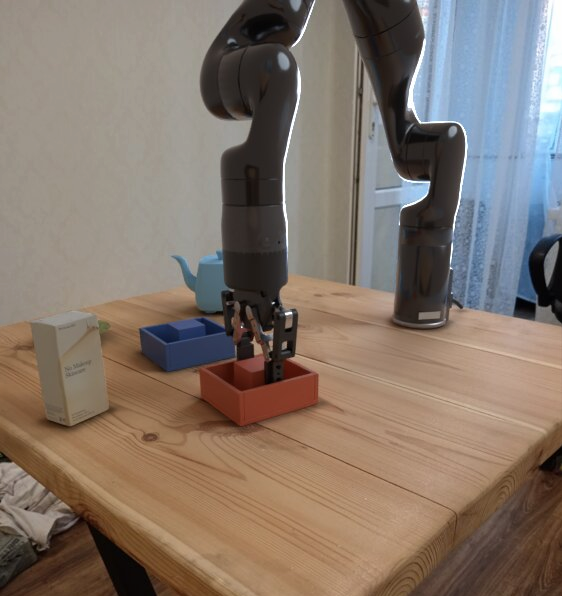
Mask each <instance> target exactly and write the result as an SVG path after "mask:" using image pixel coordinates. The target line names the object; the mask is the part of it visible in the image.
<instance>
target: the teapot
mask: <svg viewBox="0 0 562 596" xmlns="http://www.w3.org/2000/svg"><path fill="white" fill-rule="evenodd" d="M215 253H216V254H207V255H205V256H203V257H201V258H200V260H199V262H198V266H197V271H196V276H195V275H194V274H193V273H192V272H191V269H190V266H189V264H188V261H187V259H186V258H185V257H184V256H181V255H176V254H169V256H170V257H171V258H173V259H174V260H175V261H176V262H177V263H178V264H179V267H180V269H181V273H182V277H183V281H184V283H185V286H186V287H187V288H188V289H189V290H190V291H191V292H193V293H194V298H195V303H196V305H197V308H198V309H199V311H202V312H204V313H205V314H214V313H216V312H223V307H222V299H221V292H222V291H224V290H229V289H231V288H228V287H227V286H226V285H225V283H224V273H223V254H222V249H217V250H216V251H215Z"/></svg>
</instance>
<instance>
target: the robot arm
mask: <svg viewBox="0 0 562 596" xmlns="http://www.w3.org/2000/svg"><path fill="white" fill-rule="evenodd" d="M340 1H341V3H342V4H341V5H342V7H343V9H344V10H343V11H344V12H345V15H346V18H347V22H348V26H349V29H350V31H351V34H352V37H353V39H354V42H355V45H356V48H357V51H358V53H359V57H360V59H361V61H362V63H363V66H364V70H365V71H366V74H367V77H368V80H369V83H370V85H371V89H372V92H373V95H374V98H375V101H376V104H377V107H378V111H379V114H380V117H381V122H382V125H383V130H384V134H385V138H386V142H387V147H388V150H389V154H390V158H391V161H392V164H393V167H394V169H395V172H396V173H397V175H398V176H399V178H401V179H402V180H404V181H407V182H411V183H429V184H428V190H427V193H426V194H425V195H424V196H423V197H422V198H421V199H419V200H417V201H415V202H412V203H410V204H407V205H404V206H402V207H401V209H400V210H399V211H400V212H399V216H398V217H399V220H398V233H397V236H398V237H397V250H396V254H397V255H396V266H395V267H396V268H395V281H394V283H395V284H394V299H393V310H392V322H393V323H394V324H396V325H398V326H401V327H404V328H411V329H437V328H440V327H443V326H444V325H445V324H446V322H449V319H450V310H451V309H452V307H453V304H455V305H456V306H457V308H459V310H463V309H464V306H463V304H462V303H461V302H460V301H458V299H455V298H454V293H453V292H452V290H453V281H454V269H453V268H452V267H451V263H452V256H453V255H452V254H453V244H454V233H455V222H456V216H457V213H458V210H459V206H460V201H461V193H462V187H463V186H462V185H463V181H464V173H465V168H466V161H467V150H468V142H467V135H466V131H465V129H464V127H463V125H462V124H461V123H459V122H456V121H430V122H429V121H428V122H421V120H419V118H418V116H417V113H416V110H415V109H416V108H415V105H414V102H413V89H414V85H415V82H416V78H417V75H418V72H419V69H420V66H421V63H422V59H423V56H424V53H425V52H424V51H425V46H426V33H425V32H426V31H425V27H424V23H423V19H422V15H421V11H420V7H419V4H418V0H340ZM315 2H316V0H242V1H241V3H240V4H239V6H238V7H237V8H236V9H235V10H234V12H233V13H232V14H231V15H230V17H229V18H228V19H227V21H226V22H225V24H224V25H223V27H222V28H221V29H220V31H219V32H218V33H217V35H216V36H215V37H214V39H213V40H212V42H211V44H210V46H209V47H208V49H207V51H206V53H205V55H204V58H203V60H202V63H201V67H200V72H199V83H198V84H199V93H200V97H201V101H202V103H203V106H204V107H205V108H206V110H207V111H208V113H209V114H210V115H212V116H213V117H214V118H216V119H218V120H221V121H224V122H242V121H243V122H245V121H251V124H250V127H249V131H248V134H247V137H246V139H245V140H244V141H243V142H242V143H239V144H237V145H233V146H230V147H228V148H226V149H225V150H224V151H222V153H221V155H220V161H219V162H220V163H219V169H220V171H219V173H220V175H219V176H220V194H221V203H222V204H221V218H220V234H221V236H220V237H221V250H222V254H223V273H224V283H225V285H226V286H227V287H228V288H231V289H229V290H224V291H222V292H221V299H222V307H223V311H222V314H223V315H222V316H223V323H224V326H225V332H226V335H227V337H232V341H233V344H234V345H235V353H236V359H237V361H241V360H246V359H250V358H254V355H255V344H254V343H252V342H254V341H255V342H256V344H258V345H260V348H261V351H262V353H263V355H264V359H265V361H264V378H265V385H268V384H272V383H276V382H279V381H283V380H284V378H283V361H284V359H288V358H289V359H291V358H295V357H296V352H297V337H298V326H299V325H298V324H299V311H298V309H297V308H290V309H288V308H286V307H284V306H283V302H282V298H281V290H282V289H283V287H285V286H286V285H287V284H288V283H289V238H288V237H289V234H288V232H289V231H288V229H289V228H288V218H287V210H286V203H285V201H286V189H285V188H286V187H285V186H286V185H285V184H286V183H285V175H286V173H285V165H286V159H287V154H288V150H289V145H290V140H291V136H292V131H293V127H294V123H295V119H296V114H297V111H298V106H299V101H300V97H301V96H300V95H301V73H300V70H299V65H298V62H297V59H296V57H295V56H294V55H293V52H292V51H291V50H290V49H291V48H293V47H294V46H296V45H297V44H298V43H299V41H300V40H301V38H302V36H303V34H304V32H305V30H306V27H307V24H308V21H309V19H310V15H311V13H312V11H313V7H314V5H315ZM272 330H273V331H272ZM271 331H272V333H268V334H265V333H266V332H271ZM270 342H272V346H271V345H270ZM285 343H286V346H285ZM271 347H272V349H271Z"/></svg>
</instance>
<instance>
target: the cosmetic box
mask: <svg viewBox="0 0 562 596" xmlns="http://www.w3.org/2000/svg"><path fill="white" fill-rule="evenodd" d="M98 320H99V318H98V314H97V313H94V312H93V313H92V312H87V311H83V310H76V309H72V310H67V311H64V312H61V313H56V314H51V315H49V316H45V317H40V318H38V319H34V320H30V321H29V325H30V331H31V336H32V340H33V341H32V343H33V348H34V353H35V354H34V355H35V360H36V365H37V371H38V376H39V382H40V387H41V394H42V400H43V406H44V412H45V418H46V420H48V421H51V422H55V423H56V424H59V425H64V426H66V427H73V426H75V425H78V424H80V423H82V422H83V421H87V420H89V419H91V418H93V417H95V416H97V415H101V414H103V413H104V412H106V411H108V410H109V409H110V404H109V397H108V389H107V381H106V373H105V365H104V358H103V349H102V342H101V341H102V340H101V335H100V334H101V333H100V334H99V327H98Z"/></svg>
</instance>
